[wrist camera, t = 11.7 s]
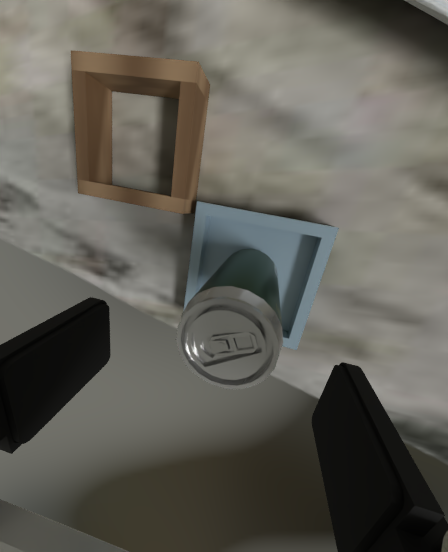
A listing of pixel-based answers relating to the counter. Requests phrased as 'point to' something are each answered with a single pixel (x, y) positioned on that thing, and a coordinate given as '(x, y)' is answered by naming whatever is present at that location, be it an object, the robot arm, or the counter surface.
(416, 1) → the salad plate
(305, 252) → the tray
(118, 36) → the counter surface
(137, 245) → the counter surface
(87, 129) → the wooden square frame
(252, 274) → the beer can
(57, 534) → the robot arm
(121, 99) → the counter surface
